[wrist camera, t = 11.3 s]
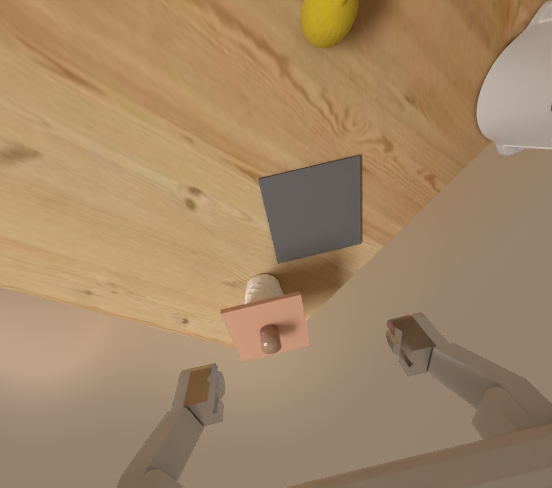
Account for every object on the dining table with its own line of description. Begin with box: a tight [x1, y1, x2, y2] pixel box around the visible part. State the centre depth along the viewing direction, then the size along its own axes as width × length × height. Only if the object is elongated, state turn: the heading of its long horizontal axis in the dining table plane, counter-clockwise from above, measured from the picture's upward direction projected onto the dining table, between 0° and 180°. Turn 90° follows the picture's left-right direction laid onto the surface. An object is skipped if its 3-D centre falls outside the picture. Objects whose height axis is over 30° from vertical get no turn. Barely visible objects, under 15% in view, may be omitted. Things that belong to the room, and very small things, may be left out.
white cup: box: [245, 274, 284, 304], centre depth 42 cm, size 8×8×10 cm
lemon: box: [301, 0, 359, 48], centre depth 24 cm, size 6×6×8 cm
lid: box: [221, 291, 310, 362], centre depth 36 cm, size 12×12×4 cm
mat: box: [258, 155, 361, 264], centre depth 39 cm, size 16×16×1 cm
